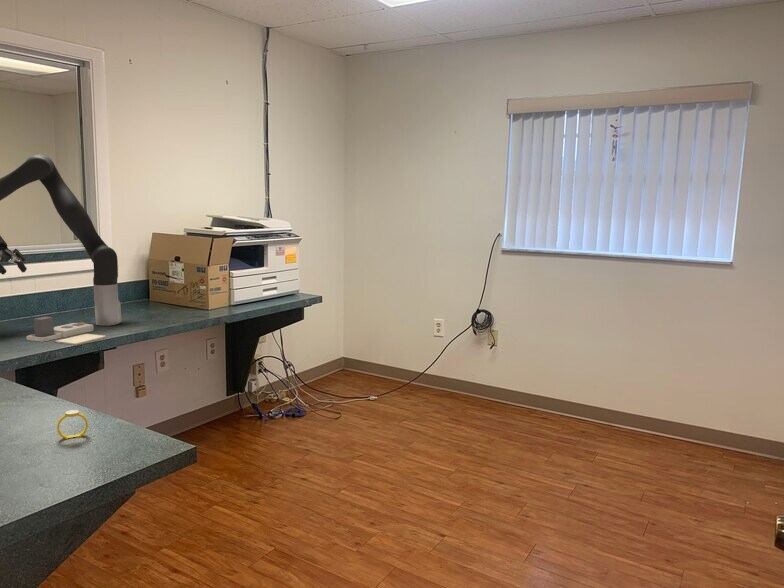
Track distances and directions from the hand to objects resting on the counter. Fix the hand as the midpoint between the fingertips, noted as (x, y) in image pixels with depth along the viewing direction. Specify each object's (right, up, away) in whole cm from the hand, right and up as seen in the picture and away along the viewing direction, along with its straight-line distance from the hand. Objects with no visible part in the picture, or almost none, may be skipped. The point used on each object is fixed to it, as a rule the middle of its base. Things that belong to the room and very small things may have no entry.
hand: (14, 272), depth 228 cm
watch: (+73, -40, -94) cm, 126 cm away
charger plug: (+12, -25, 0) cm, 28 cm away
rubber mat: (+26, -26, -2) cm, 37 cm away
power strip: (+14, -24, +6) cm, 29 cm away
